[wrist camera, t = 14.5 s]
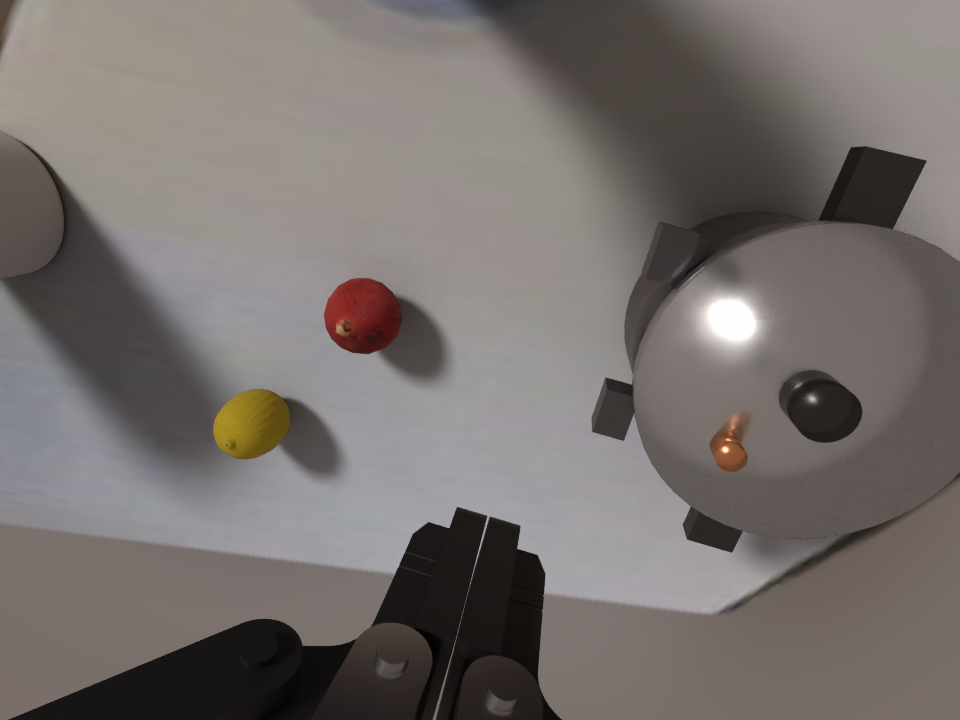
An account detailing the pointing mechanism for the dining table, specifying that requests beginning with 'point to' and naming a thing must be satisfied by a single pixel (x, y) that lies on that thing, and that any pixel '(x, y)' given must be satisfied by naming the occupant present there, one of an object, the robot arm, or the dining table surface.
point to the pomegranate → (362, 316)
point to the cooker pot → (677, 251)
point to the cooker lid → (806, 380)
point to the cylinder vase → (26, 211)
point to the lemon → (251, 424)
